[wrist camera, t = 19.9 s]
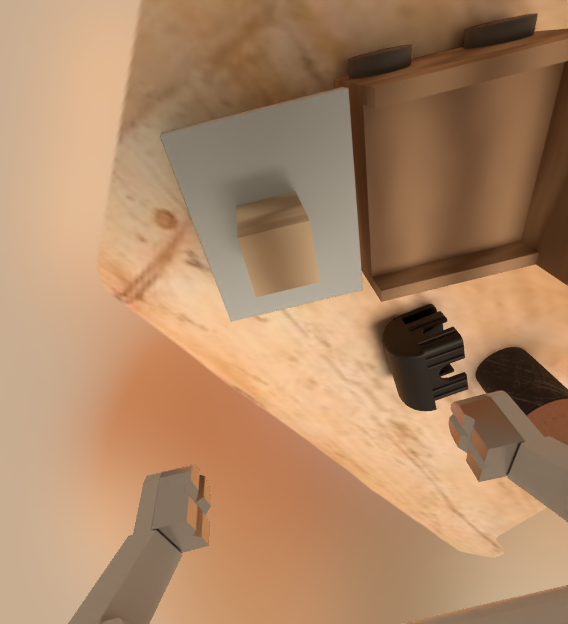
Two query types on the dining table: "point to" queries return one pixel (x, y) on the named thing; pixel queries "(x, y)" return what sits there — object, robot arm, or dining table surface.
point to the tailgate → (273, 191)
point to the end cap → (423, 357)
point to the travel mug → (528, 389)
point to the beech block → (277, 244)
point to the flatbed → (461, 158)
